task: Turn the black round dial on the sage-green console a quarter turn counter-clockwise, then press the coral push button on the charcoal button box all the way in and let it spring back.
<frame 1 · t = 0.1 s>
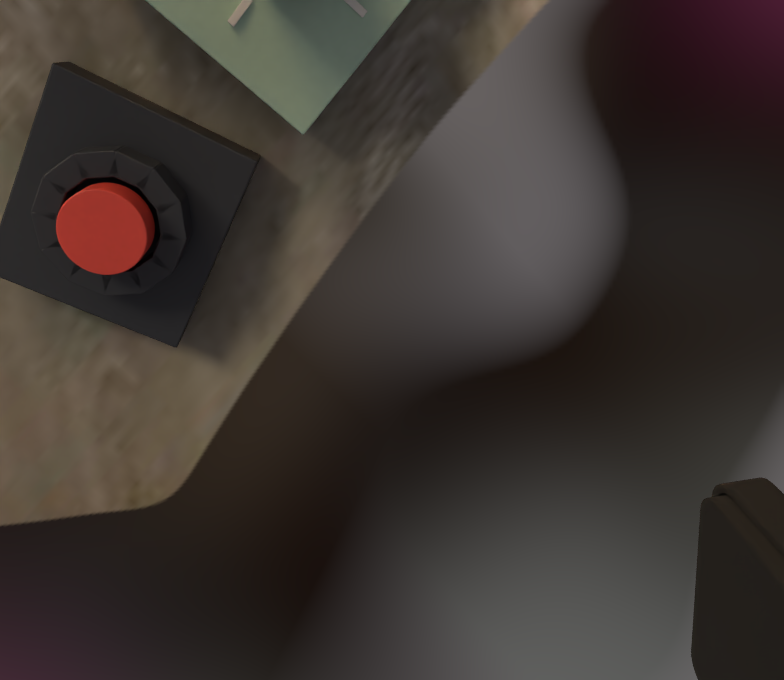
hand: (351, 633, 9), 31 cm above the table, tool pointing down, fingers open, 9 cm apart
button: (107, 228, 33), point 4 cm above the table, slide at 0.1 cm
button box: (130, 207, 37), on the table
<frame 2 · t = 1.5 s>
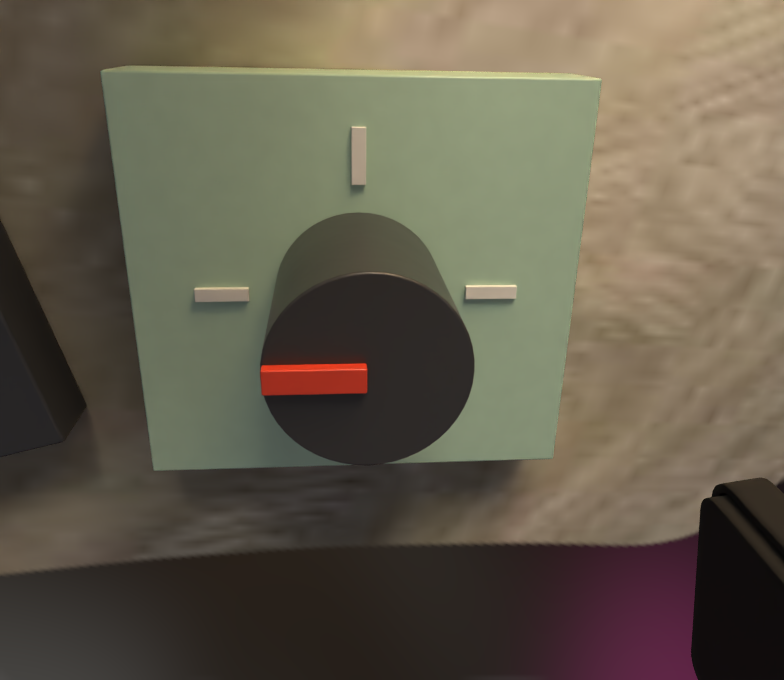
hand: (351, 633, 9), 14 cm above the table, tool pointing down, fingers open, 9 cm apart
dial: (363, 330, 17), point 5 cm above the table, hinge at 0.0°
console: (354, 264, 21), on the table
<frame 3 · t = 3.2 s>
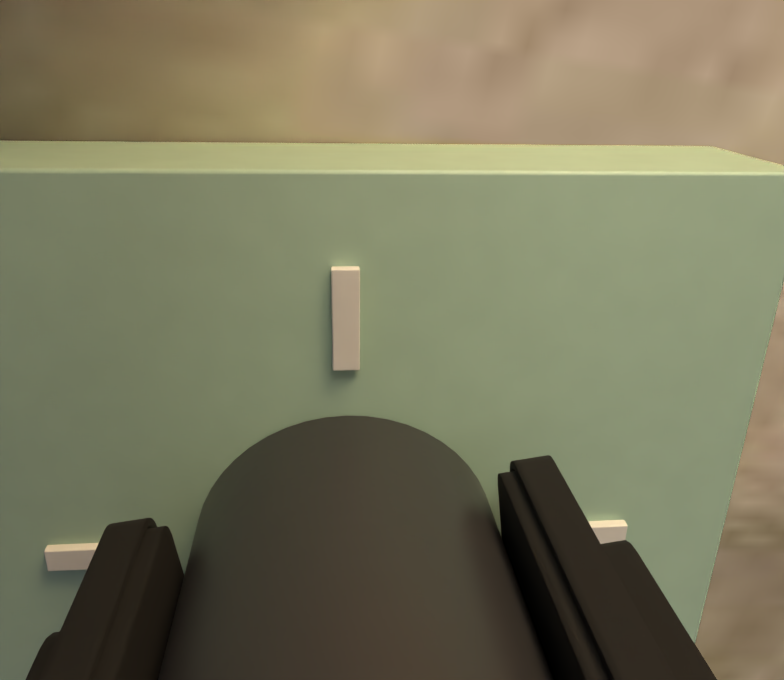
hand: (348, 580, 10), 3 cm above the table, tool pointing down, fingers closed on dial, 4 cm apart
console: (341, 452, 13), on the table
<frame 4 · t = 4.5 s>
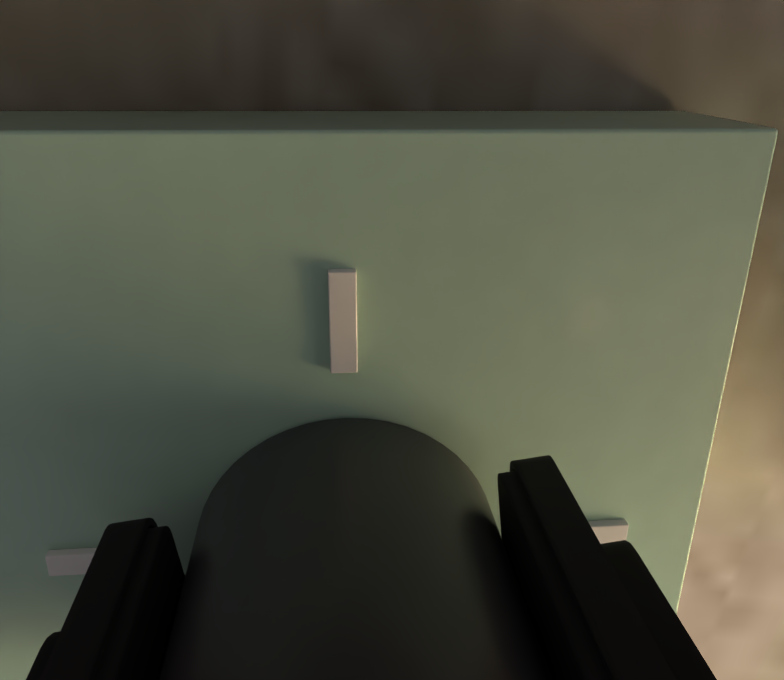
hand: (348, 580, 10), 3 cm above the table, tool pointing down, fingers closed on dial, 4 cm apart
console: (342, 454, 13), on the table
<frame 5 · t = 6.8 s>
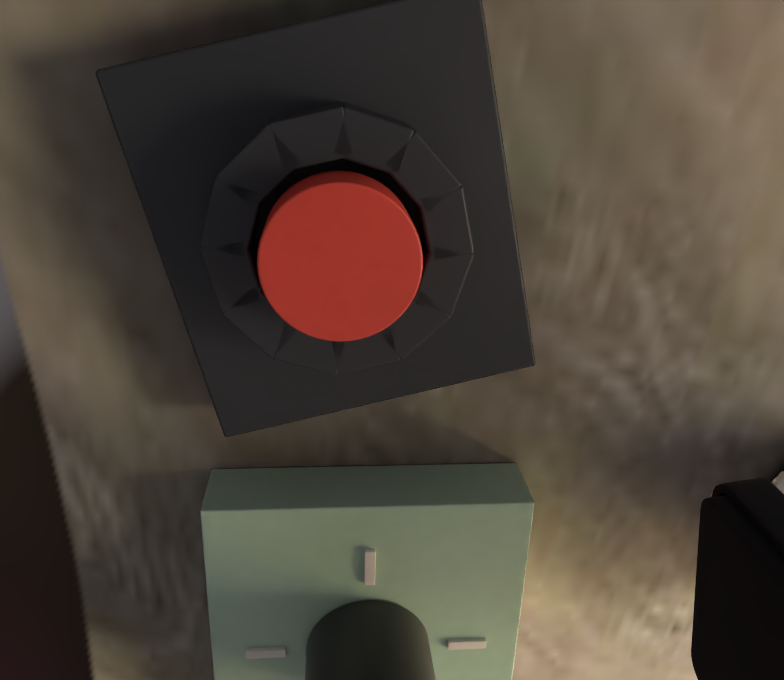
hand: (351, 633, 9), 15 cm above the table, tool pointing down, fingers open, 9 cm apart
console: (364, 596, 28), on the table
button: (340, 255, 18), point 4 cm above the table, slide at 0.1 cm
button box: (337, 217, 22), on the table
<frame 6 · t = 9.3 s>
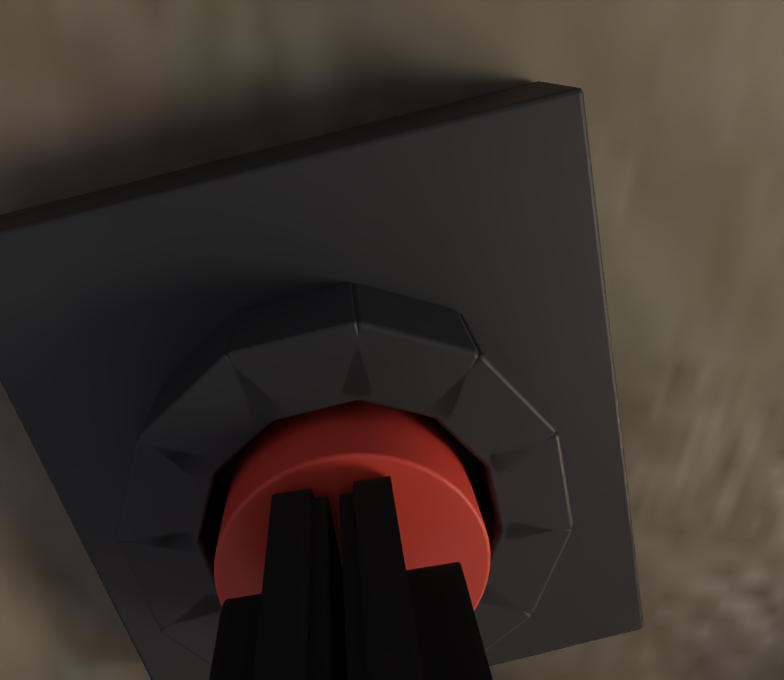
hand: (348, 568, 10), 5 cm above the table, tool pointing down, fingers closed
button: (352, 535, 11), point 4 cm above the table, slide at -0.4 cm, touching gripper
button box: (344, 413, 15), on the table
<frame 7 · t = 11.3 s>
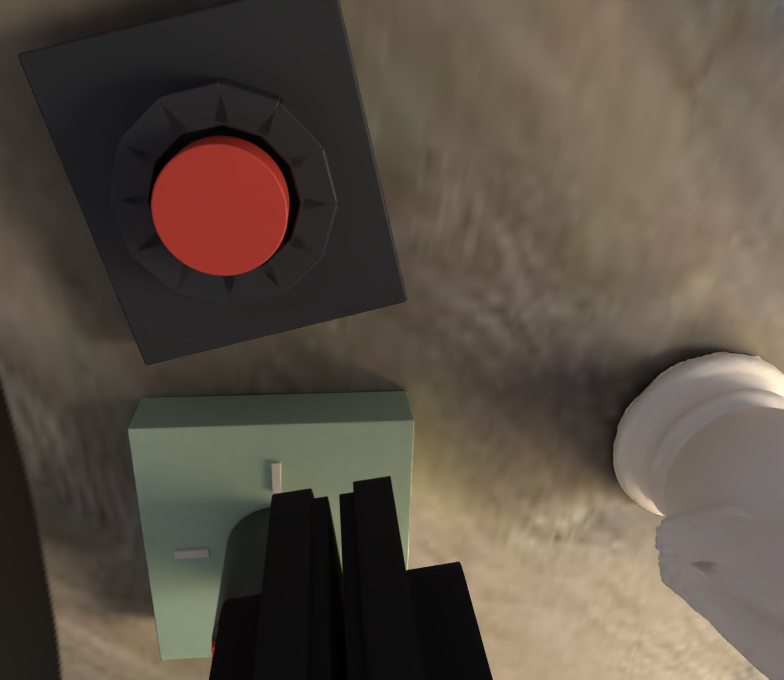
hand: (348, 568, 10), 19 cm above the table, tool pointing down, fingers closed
dial: (277, 594, 27), point 5 cm above the table, hinge at 90.2°
console: (281, 510, 32), on the table
button: (223, 205, 22), point 4 cm above the table, slide at 0.1 cm
button box: (236, 177, 26), on the table
cherub figurine: (729, 401, 33), on the table
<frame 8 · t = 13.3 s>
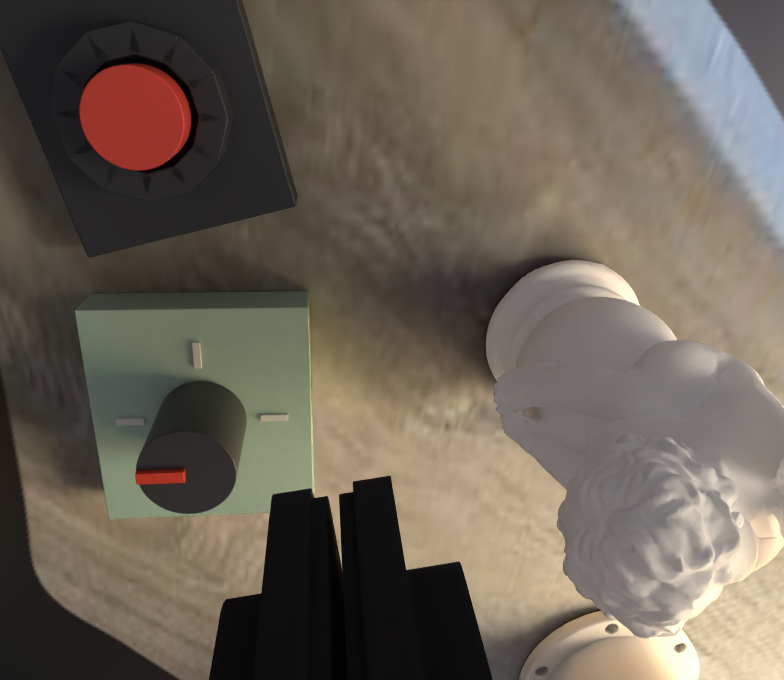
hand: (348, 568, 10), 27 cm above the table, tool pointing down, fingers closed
dial: (194, 446, 34), point 5 cm above the table, hinge at 90.2°
console: (210, 396, 39), on the table
button: (137, 117, 29), point 4 cm above the table, slide at 0.1 cm
button box: (160, 107, 33), on the table
cherub figurine: (585, 305, 39), on the table
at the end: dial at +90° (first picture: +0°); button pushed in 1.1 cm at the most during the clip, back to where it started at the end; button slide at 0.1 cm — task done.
